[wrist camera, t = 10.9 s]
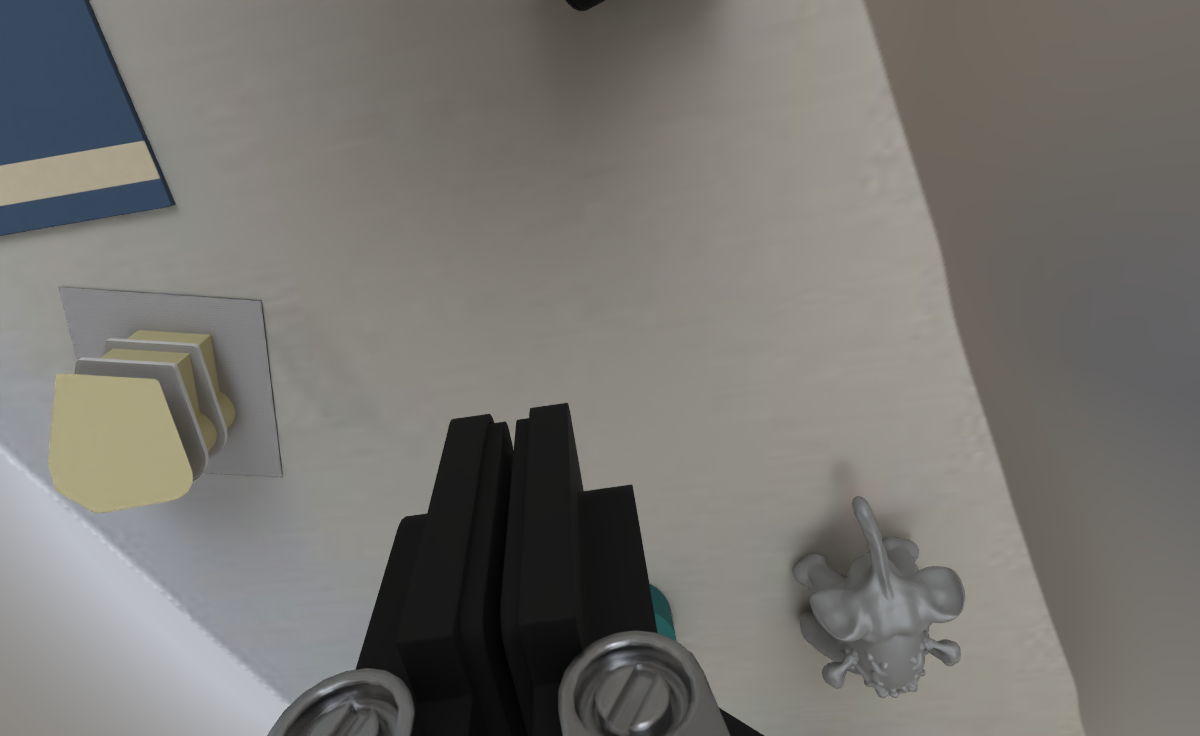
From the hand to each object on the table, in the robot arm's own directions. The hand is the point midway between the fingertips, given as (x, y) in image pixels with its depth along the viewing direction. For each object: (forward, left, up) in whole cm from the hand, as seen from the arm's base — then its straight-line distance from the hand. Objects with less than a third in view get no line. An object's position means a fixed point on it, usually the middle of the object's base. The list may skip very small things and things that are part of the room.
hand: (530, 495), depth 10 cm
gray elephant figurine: (+24, +13, -24) cm, 36 cm away
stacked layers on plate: (+7, -20, -24) cm, 32 cm away
